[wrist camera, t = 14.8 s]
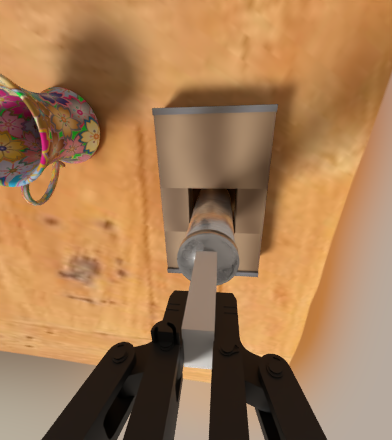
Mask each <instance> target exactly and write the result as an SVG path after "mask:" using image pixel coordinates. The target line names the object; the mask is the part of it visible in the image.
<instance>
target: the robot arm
mask: <svg viewBox="0 0 392 440" xmlns="http://www.w3.org/2000/svg"><path fill="white" fill-rule="evenodd" d="M216 285H217V252H213V251H196V256H195V261H194V266H193V271H192V277H191V282H190V287H189V291H176V290H175V291H174V292H173V293H172V294H171V296H170V297H169V301H168V305H167V308H166V311H165V314H164V318H163V320H162V321H160V322H157V323H156V324H155V325H154V326H153V328H152V329H151V336H152V342H150V343H148V344H145V345H141V346H137V347H133V345H132V344H130V343H129V342H121V343H117V344H116V345H114V346H112V347H111V348H110V349H109V350H108V352H107V353H106V354H105V356H104V357H103V358H102V360H101V361H100V362H99V364H98V365H97V366H96V368H95V369H94V370H93V372H92V373H91V374H90V376H89V377H88V378H87V380H86V381H85V382H84V384H83V385H82V386H81V388H80V389H79V390H78V392H77V393H76V395H75V396H74V397H73V398H72V400H71V401H70V402H69V404H68V405H67V406H66V408H65V409H64V410H63V412H62V413H61V414H60V416H59V417H58V418H57V420H56V421H55V422H54V424H53V425H52V426H51V428H50V429H49V430H48V432H47V433H46V434H45V436H44V437H43V438H42V440H117V438H118V436H119V434H120V432H121V430H122V429H123V426H124V425H125V423H126V421H127V419H128V417H129V415H130V413H131V415H130V418H129V421H128V425H127V428H126V431H125V435H124V438H123V440H174V435H175V428H176V421H177V414H178V408H179V400H180V394H181V387H182V381H183V374H182V371H183V365H184V367H193V368H203V369H212V378H211V402H210V424H209V440H249V430H248V418H247V407H246V403H247V404H250V405H251V406H254V407H255V410H256V413H257V416H258V420H259V423H260V426H261V429H262V432H263V435H264V439H265V440H327V438H326V436H325V434H324V433H323V430H322V429H321V427H320V425H319V423H318V421H317V419H316V417H315V415H314V413H313V411H312V409H311V407H310V405H309V403H308V401H307V399H306V397H305V395H304V393H303V391H302V389H301V387H300V385H299V383H298V381H297V379H296V378H295V376H294V374H293V372H292V370H291V368H290V366H289V365H288V363H287V362H286V361H285V360H284V359H283V358H282V357H280V356H278V355H275V354H266V355H264V356H263V357H260V356H258V355H255V354H253V353H251V352H249V351H248V350H247V349H245V348H244V346H243V345H242V343H241V341H240V337H239V325H238V313H237V300H236V298H235V297H234V295H233V293H220V292H216ZM131 411H132V412H131Z"/></svg>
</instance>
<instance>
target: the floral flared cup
mask: <svg viewBox="0 0 392 440" xmlns="http://www.w3.org/2000/svg"><path fill="white" fill-rule="evenodd" d="M99 141H100V128H99V124H98V120H97V118H96V115H95V113H94V112H93V110H92V108H91V107H90V106H89V104H88V103H87V102H86V101H85V100H84V99H83V98H82V97H81V96H79V95H78V94H76V93H75V92H73V91H71V90H69V89H66V88H61V87H53V88H49V89H46V90H44V91H42V92H41V93H34V92H30V91H27V90H25V89H23V88H21V87H19V86H18V85H16V84H15V83H13V82H12V81H11V80H9V79H8V78H7V77H5V76H4V75H2V74H0V185H2V186H8V187H19V186H21V192H22V195H23V197H24V199H25V200H26V201H27V202H28V203H29V204H31V205H42V204H44V203H45V202H46V201H47V200H48V199H49V198H50V197H51V195H52V193H53V191H54V189H55V187H56V184H57V181H58V176H59V167H65V164H64V163H63V162H67V163H81V162H84V161H86V160H88V159H89V158H91V157H92V156H93V155H94V153H95V152H96V150H97V148H98V145H99ZM59 160H61V161H63V162H61V161H59ZM53 162H54V163H53ZM51 163H53V170H52V176H51V181H50V184H49V186H48V189H47V191H46V192H45V194H44V195H43V197H42V198H41V199H40V200H38V201H34V200H33V199H32V197H31V195H30V192H29V183H31V182H33V181H34V180H36V179H37V178H38V177H39V176H40V175H41V173H42V172H43V170H44V169H45V168H46V167H47V166H48V165H49V164H51Z"/></svg>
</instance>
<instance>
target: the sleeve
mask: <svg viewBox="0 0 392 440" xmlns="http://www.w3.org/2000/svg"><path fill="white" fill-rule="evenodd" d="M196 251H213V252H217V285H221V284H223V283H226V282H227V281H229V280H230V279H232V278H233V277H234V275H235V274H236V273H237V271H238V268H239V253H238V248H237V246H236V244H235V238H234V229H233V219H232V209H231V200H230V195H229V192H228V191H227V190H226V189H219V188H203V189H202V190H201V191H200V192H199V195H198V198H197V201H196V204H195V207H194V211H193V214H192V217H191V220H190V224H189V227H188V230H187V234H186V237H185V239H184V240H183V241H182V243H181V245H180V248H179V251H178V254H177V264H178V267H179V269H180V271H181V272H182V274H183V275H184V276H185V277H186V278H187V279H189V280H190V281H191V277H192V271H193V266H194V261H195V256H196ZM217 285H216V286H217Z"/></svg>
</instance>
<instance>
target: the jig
mask: <svg viewBox="0 0 392 440" xmlns="http://www.w3.org/2000/svg"><path fill="white" fill-rule="evenodd" d="M277 108H278V104H272V105H241V106H210V107H179V108H152V112H153V115H154V124H155V135H156V146H157V156H158V167H159V178H160V188H161V199H162V210H163V220H164V231H165V242H166V252H167V263H168V269H167V270H168V273H182V272H181V271H180V269H179V267H178V264H177V254H178V251H179V248H180V245H181V243H182V241H183V240H184V239H185V237H186V234H187V230H188V227H189V224H190V220H191V217H192V214H193V189H192V188H219V189H235V204H234V220H233V229H234V238H235V244H236V246H237V248H238V253H239V268H238V271H237V273H236V274H235V275H234V276H249V277H258V267H259V258H260V249H261V241H262V232H263V223H264V215H265V206H266V197H267V188H268V180H269V171H270V162H271V154H272V145H273V136H274V128H275V119H276V112H277Z"/></svg>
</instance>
